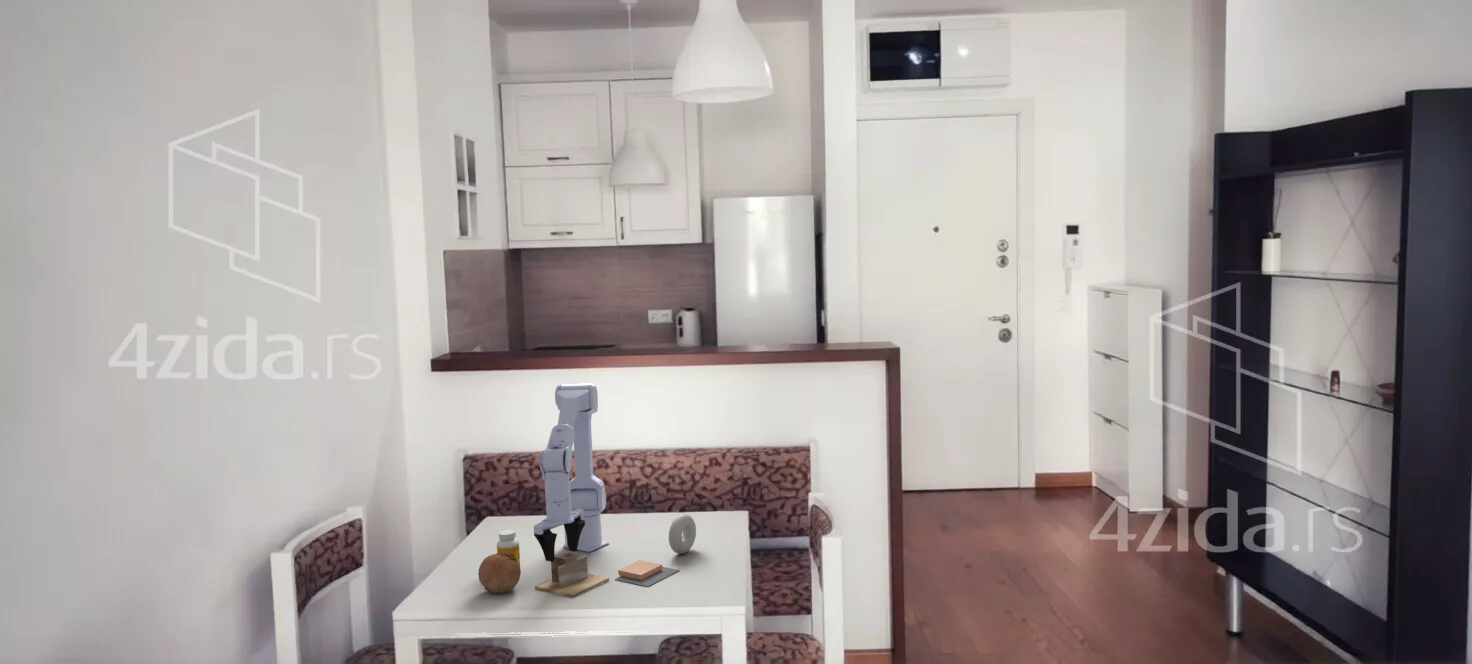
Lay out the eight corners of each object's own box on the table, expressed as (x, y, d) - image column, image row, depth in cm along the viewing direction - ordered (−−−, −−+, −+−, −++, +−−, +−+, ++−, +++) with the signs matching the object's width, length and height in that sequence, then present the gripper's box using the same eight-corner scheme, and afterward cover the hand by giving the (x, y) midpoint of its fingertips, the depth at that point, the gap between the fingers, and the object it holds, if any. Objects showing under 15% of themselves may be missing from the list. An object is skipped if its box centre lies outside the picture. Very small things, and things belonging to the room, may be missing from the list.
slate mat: (614, 579, 216) (614, 579, 216) (646, 564, 226) (646, 563, 226) (648, 587, 211) (648, 586, 211) (679, 570, 221) (679, 570, 221)
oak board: (535, 588, 213) (534, 585, 213) (571, 572, 223) (571, 569, 222) (573, 597, 206) (573, 595, 206) (608, 580, 216) (608, 578, 216)
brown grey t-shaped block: (543, 584, 213) (542, 559, 213) (570, 572, 221) (569, 548, 220) (561, 588, 210) (559, 563, 210) (587, 576, 218) (586, 551, 217)
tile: (618, 570, 218) (641, 575, 214) (639, 560, 225) (662, 564, 221) (618, 575, 218) (641, 580, 214) (639, 565, 225) (662, 570, 221)
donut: (678, 560, 229) (676, 520, 228) (666, 558, 230) (664, 519, 229) (699, 548, 237) (697, 510, 236) (688, 546, 239) (686, 508, 238)
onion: (515, 598, 215) (531, 557, 217) (505, 602, 206) (522, 559, 207) (477, 584, 215) (493, 543, 217) (466, 588, 206) (483, 545, 208)
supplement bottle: (496, 568, 227) (493, 531, 226) (517, 565, 229) (515, 527, 229) (500, 575, 222) (498, 536, 221) (522, 571, 225) (520, 533, 224)
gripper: (548, 509, 206) (551, 568, 207) (592, 493, 218) (595, 549, 219) (525, 505, 210) (529, 563, 211) (570, 489, 222) (573, 544, 223)
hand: (561, 555), depth 215 cm, fingers open, 7 cm apart
